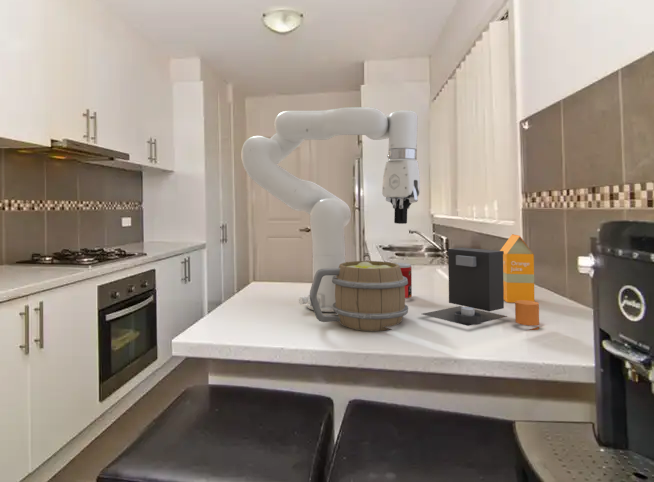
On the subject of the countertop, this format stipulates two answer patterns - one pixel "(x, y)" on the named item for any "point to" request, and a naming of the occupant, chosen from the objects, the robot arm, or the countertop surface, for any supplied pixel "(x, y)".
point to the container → (527, 313)
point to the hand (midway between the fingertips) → (400, 223)
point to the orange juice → (518, 270)
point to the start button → (468, 311)
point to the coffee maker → (476, 278)
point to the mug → (364, 295)
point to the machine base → (464, 316)
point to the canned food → (407, 273)
